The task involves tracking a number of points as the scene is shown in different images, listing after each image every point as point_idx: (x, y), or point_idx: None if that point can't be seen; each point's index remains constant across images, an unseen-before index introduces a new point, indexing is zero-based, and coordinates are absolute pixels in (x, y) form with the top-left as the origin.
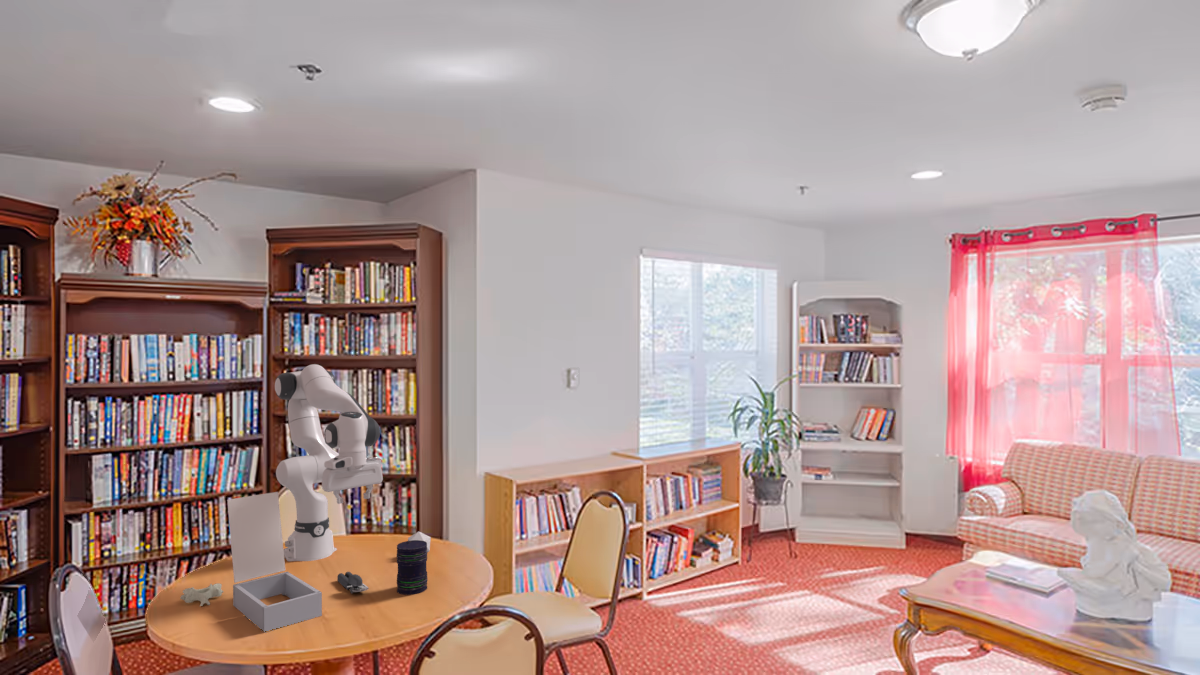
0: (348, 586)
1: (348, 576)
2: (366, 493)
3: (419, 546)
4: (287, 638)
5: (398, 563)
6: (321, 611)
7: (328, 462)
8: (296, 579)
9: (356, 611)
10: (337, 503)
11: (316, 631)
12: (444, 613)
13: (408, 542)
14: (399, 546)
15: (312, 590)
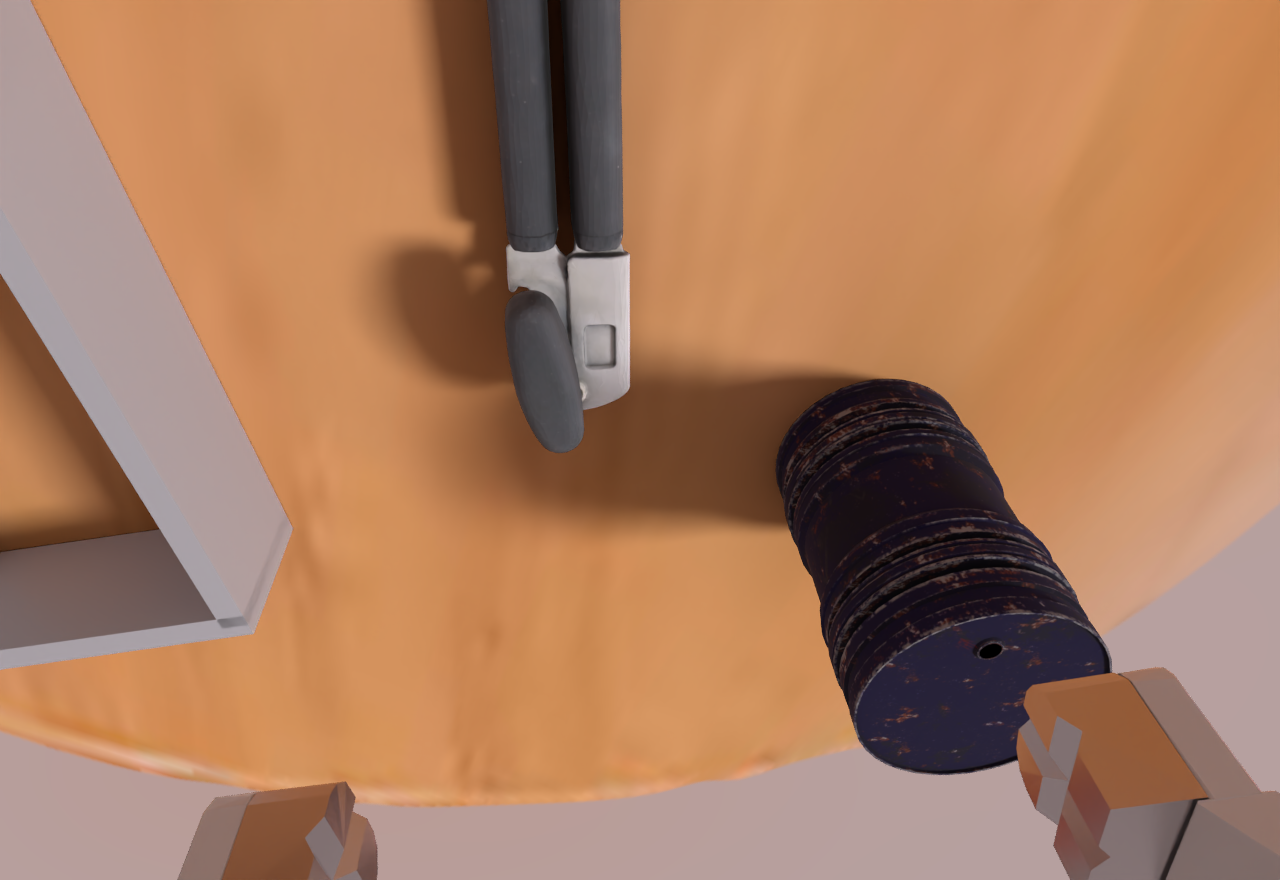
0: (518, 257)
1: (567, 72)
2: (1137, 870)
3: (993, 743)
4: (120, 668)
5: (821, 609)
6: (284, 545)
7: None
8: (31, 308)
9: (480, 566)
10: (231, 803)
11: (257, 665)
12: (807, 745)
13: (1002, 647)
14: (884, 684)
15: (191, 576)
